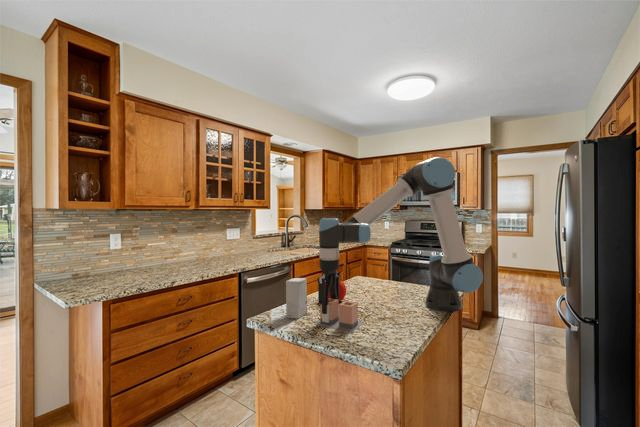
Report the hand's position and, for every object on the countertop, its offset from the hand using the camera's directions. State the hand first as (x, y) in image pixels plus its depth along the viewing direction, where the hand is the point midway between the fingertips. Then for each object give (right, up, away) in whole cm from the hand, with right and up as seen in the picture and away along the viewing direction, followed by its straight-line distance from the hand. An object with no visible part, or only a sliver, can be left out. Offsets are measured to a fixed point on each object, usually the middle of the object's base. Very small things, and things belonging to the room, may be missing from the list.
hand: (329, 319), depth 118 cm
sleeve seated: (+7, -1, -4) cm, 8 cm away
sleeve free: (0, -1, 0) cm, 1 cm away
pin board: (+3, -1, -2) cm, 4 cm away
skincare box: (-13, -2, +9) cm, 16 cm away
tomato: (+3, -1, +28) cm, 29 cm away
